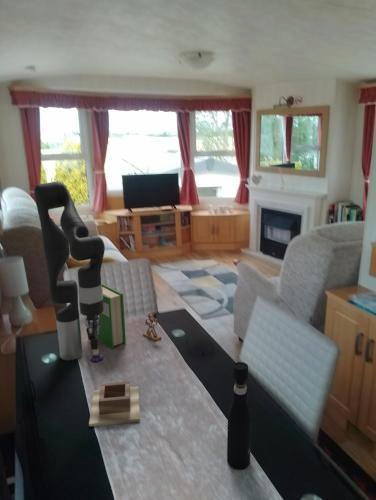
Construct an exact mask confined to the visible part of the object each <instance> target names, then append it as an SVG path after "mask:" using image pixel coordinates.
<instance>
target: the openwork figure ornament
mask: <svg viewBox="0 0 376 500" xmlns="http://www.w3.org/2000/svg"><path fill="white" fill-rule="evenodd" d="M147 317H148V319H146V320H145V326H148V328H147V331H146V332H144V333H142V336H143V337H145V338H146V337H147V339H149V340H151V341H153V342H155V341H156V342H158V341H160V340H161V339H162V336H160V335H158V334H157V332H156V329H155V326H157V325H158V323H159V321H158V319H157V318H155V315H154V313H152V312H151V313H148V316H147ZM148 321H149V322H148ZM150 329H151V330H150Z"/></svg>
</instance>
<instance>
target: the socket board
mask: <svg viewBox="0 0 376 500" xmlns="http://www.w3.org/2000/svg"><path fill="white" fill-rule="evenodd" d="M139 388H140V386H131V381H130V380H129V381H127V380H126V381H118V382H117V381H116V382H105V383H104V382H103V383H100V388H99V389H97V390H93V395H92V401H91V408H90V415H89V421H88V426H89V427H98V426H99V427H100V426H108V425H118V424H126V423H127V424H128V423H137V422H140V421H141V413H140V389H139Z"/></svg>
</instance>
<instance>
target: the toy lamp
mask: <svg viewBox="0 0 376 500" xmlns="http://www.w3.org/2000/svg"><path fill="white" fill-rule="evenodd" d="M86 319H88V317H87V316H86V318H85V320H86ZM96 319H99V318H98V316H97V315H96ZM99 325H100V321H99V323H98V326H99ZM85 327H86V328H87V325H86V324H85ZM92 353H93V354H92V355H91V356H90V358H89V361H90V363H95V364H98V363H101V362H102V361H103V360H104V356H103V354H100V352H99V348H98V349H97V350H92Z"/></svg>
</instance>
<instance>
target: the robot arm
mask: <svg viewBox="0 0 376 500" xmlns="http://www.w3.org/2000/svg"><path fill="white" fill-rule="evenodd" d="M33 191H34V192H33V194H34V199H35V204H36V205H35V206H36V208H37V215H38V217H39V223H40V228H41V229H40V230H41V237H42V245H43V250H44V251H43V252H44V257H45V263H46V269H47V275H48V288H49V289H48V290H49V297H50V301H51V303H52V304H54V305H64V304H68V305H67V306H65V307H63V308H62V307H61V308H60V309H59V310H57V312H56V314H55V320H56V329H57V330H56V331H57V339H58V347H59V357H60V359H61V360H64V361H74V360H77V359H79V358H81V357H82V356H83V343H82V331H81V320H80V314H81V315H82V316H84V317H86V318H87V317H88V319H86V318H85V326H86V325H87V327H86V328H85V329H86V334H87V338H88V341H90V342H89V343H90V350H91V351H93V350H97V349H98V350H99V344H100V341H99V340H98V334H99V332H98V331H99V326H98V323H99V319H100V317H99V314H101V313H102V312H103V311H104V303H103V290H102V285H101V284H102V275H101V274H102V273H101V271H102V266H103V265H102V264H103V259H104V256H105V250H106V248H105V246H106V245H105V243H104V240H103V238H101V237H100V236H98V235H92V236H89V235H90V232H89V228H88V227H87V225H86V224H85V222H84V221H83V219H82V218H81V216H80V215H79V213H78V210H77V208H76V205H75V203H74V201H73V199H72V196H71V193H70V191H69V189H68V187H67V186H66V185H65V183H64V182H62V181H51V182H46V183H39V184H36V185H35V186H34V190H33ZM62 207H64V208H63V211H62V213H61V216H60V220H59V223H60V224H59V225H60V227H61V228H60V227H59V226H58V225H57V224H56V223H55V221H54V220H53V219H52V218H51V216H50V213H49V210H53V209H58V208H62ZM70 256H71V258H72V259H73V260H75V261H77V262H81V261H87V260H89V262H88V263H87V264H85V265H82V266H81V267H79V269H78V270H77V281H75V280H73V279H72V280H70V279H69V280H59V281H58V277H59V275H60V273H61V271H62V269H63V268H64V267H65V265H66V263H67V261H68V259H69V257H70ZM77 282H78V283H77ZM96 315H97V316H98V318H99V319H96Z"/></svg>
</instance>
